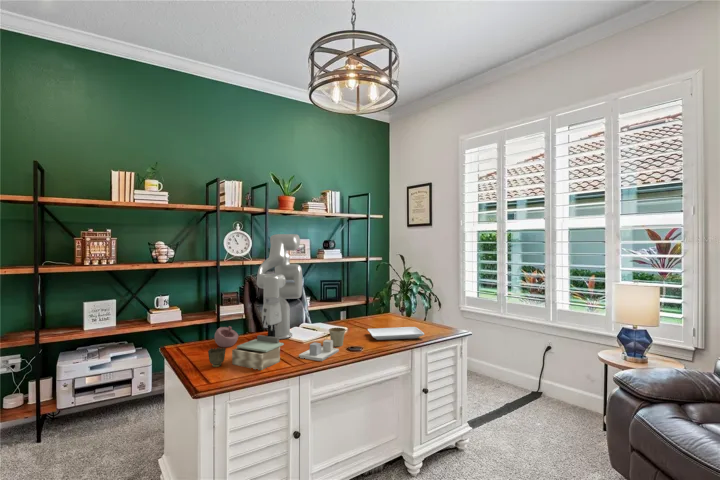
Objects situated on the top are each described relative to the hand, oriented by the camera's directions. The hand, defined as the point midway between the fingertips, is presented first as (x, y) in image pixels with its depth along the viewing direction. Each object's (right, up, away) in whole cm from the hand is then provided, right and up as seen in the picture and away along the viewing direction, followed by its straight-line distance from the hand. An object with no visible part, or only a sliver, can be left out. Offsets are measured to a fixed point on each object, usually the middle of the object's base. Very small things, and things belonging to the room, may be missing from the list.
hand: (271, 337), depth 181 cm
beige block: (+27, -8, +7) cm, 29 cm away
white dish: (+23, -9, +4) cm, 25 cm away
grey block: (+21, -8, +1) cm, 23 cm away
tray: (+65, -10, +40) cm, 76 cm away
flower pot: (+31, -10, +20) cm, 38 cm away
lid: (-3, -2, -7) cm, 8 cm away
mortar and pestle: (-28, -10, +16) cm, 34 cm away
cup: (-21, -10, -15) cm, 27 cm away
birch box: (-5, -9, -10) cm, 14 cm away
